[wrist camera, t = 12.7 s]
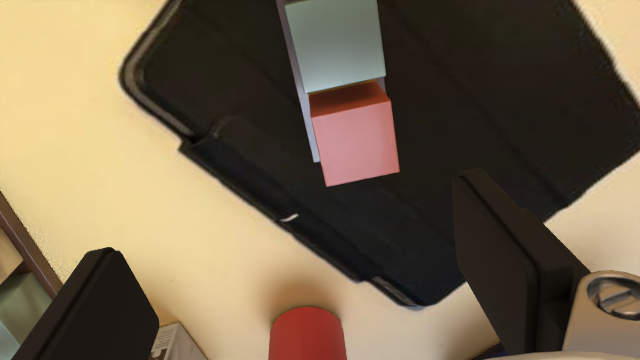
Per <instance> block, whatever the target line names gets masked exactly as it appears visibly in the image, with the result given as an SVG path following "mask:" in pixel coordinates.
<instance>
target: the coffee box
mask: <svg viewBox="0 0 640 360" xmlns="http://www.w3.org/2000/svg"><path fill="white" fill-rule="evenodd" d="M148 360H207V359H206V358H205V356H204V355H203V354H202V352H201V351H200V349H199V348H198V347H197V345H196V344H195V343H194V341H193V340H192V339H191V337H190V336H189V335H188V333H187V332H186V331H185V329H184V328H183V327H182V325H181V324H180V323H174V324H171V325H168V326H164V327H161V328H159V331H158V334H157V337H156V339H155V342H154V345H153V348H152V350H151V353H150V356H149V359H148Z"/></svg>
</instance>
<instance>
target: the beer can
mask: <svg viewBox="0 0 640 360" xmlns="http://www.w3.org/2000/svg"><path fill="white" fill-rule="evenodd" d="M268 360H347V356H346V348H345V341H344V333H343V328H342V326H341V323H340V321H339V320H338V319H337V318H336V317H335V316H334V315H333V314H332V313H330V312H328V311H326V310H324V309H322V308H317V307H312V306H310V307H298V308H295V309H291V310H289V311H288V312H286V313H284V314H282V315H281V316H280V317H279V318H278V319H277V320H276V321H275V322H274V324H273V326H272V329H271V331H270V343H269V358H268Z"/></svg>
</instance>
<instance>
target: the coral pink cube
mask: <svg viewBox="0 0 640 360" xmlns="http://www.w3.org/2000/svg"><path fill="white" fill-rule="evenodd" d="M309 105H310V115H311V121H312V125H313V130H314V134H315V139H316V143H317V148H318V152H319V156H320V161H321V165H322V170H323V174H324V179H325V183H326V186H327V187H328V186H333V185H338V184H342V183H347V182H352V181H357V180H362V179H367V178H372V177H376V176H381V175H386V174H391V173H396V172H399V163H398V155H397V147H396V139H395V131H394V123H393V115H392V107H391V101H390V99H389V98H388V97H387V95H386V94H385V92H384V91H383V90H382V88H381V87H380V86H379V84H378V83H377V82H376V81H373V82H368V83H364V84H359V85H355V86H350V87H345V88H341V89H336V90H332V91H327V92H322V93H318V94H313V95H309Z"/></svg>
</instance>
